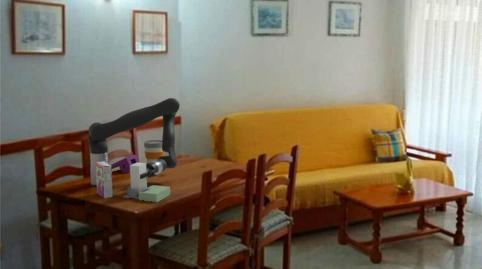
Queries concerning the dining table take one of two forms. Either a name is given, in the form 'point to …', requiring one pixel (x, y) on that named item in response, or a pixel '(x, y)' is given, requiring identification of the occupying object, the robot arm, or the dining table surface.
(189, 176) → the dining table surface
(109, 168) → the candy bar box
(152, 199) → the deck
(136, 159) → the mounting bracket
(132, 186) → the tall white pillar block
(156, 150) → the reusable coffee cup
